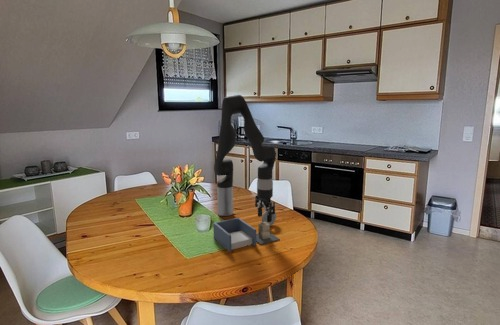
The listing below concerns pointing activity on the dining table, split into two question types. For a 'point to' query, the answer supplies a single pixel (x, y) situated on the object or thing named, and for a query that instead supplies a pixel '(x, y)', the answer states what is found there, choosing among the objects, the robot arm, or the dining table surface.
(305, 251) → the dining table surface
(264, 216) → the donut
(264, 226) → the maple block
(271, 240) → the rubber mat
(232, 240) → the slot box
